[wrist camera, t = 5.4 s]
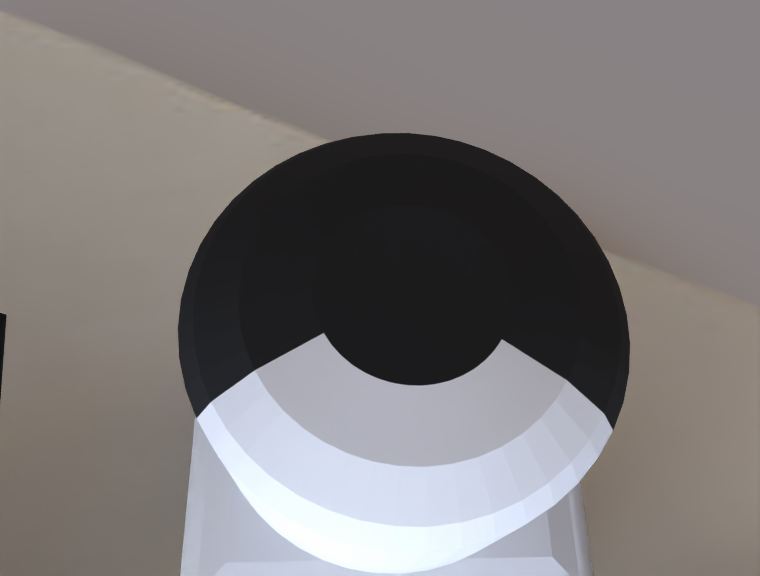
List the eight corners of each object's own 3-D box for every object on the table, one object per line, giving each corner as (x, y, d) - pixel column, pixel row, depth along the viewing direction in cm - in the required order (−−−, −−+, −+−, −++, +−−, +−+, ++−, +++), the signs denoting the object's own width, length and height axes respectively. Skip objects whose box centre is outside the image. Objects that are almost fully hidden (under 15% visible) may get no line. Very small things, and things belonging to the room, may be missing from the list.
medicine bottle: (246, 356, 21) (154, 64, 10) (485, 356, 21) (640, 76, 11) (229, 624, 18) (72, 609, 7) (509, 617, 18) (762, 595, 8)
